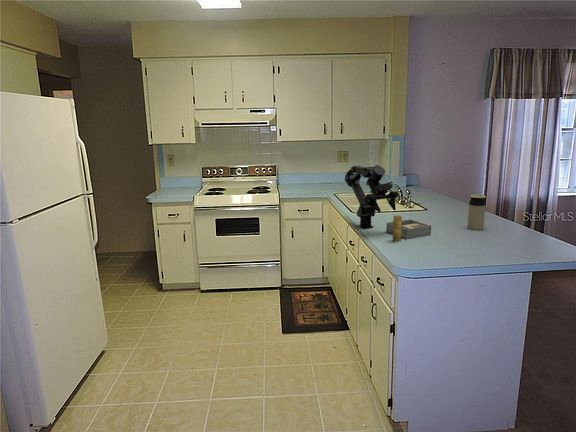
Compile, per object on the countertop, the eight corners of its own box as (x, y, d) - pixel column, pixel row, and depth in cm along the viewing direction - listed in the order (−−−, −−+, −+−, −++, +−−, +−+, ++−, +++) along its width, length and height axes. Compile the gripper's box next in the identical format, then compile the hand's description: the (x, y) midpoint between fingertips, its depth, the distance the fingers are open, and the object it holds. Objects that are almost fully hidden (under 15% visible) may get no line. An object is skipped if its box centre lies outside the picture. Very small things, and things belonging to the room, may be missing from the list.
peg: (390, 240, 204) (391, 216, 201) (397, 239, 206) (398, 215, 203) (396, 242, 200) (396, 217, 198) (402, 241, 202) (403, 216, 199)
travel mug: (485, 230, 217) (488, 197, 213) (469, 230, 218) (471, 197, 214) (481, 226, 224) (484, 194, 220) (465, 226, 226) (468, 194, 222)
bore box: (386, 231, 219) (386, 222, 218) (410, 228, 225) (410, 219, 224) (405, 239, 205) (406, 229, 204) (430, 235, 211) (431, 225, 210)
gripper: (366, 178, 205) (379, 203, 197) (397, 175, 212) (410, 200, 204) (358, 191, 214) (369, 216, 206) (387, 188, 221) (399, 212, 213)
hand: (387, 211), depth 207 cm, fingers open, 9 cm apart
